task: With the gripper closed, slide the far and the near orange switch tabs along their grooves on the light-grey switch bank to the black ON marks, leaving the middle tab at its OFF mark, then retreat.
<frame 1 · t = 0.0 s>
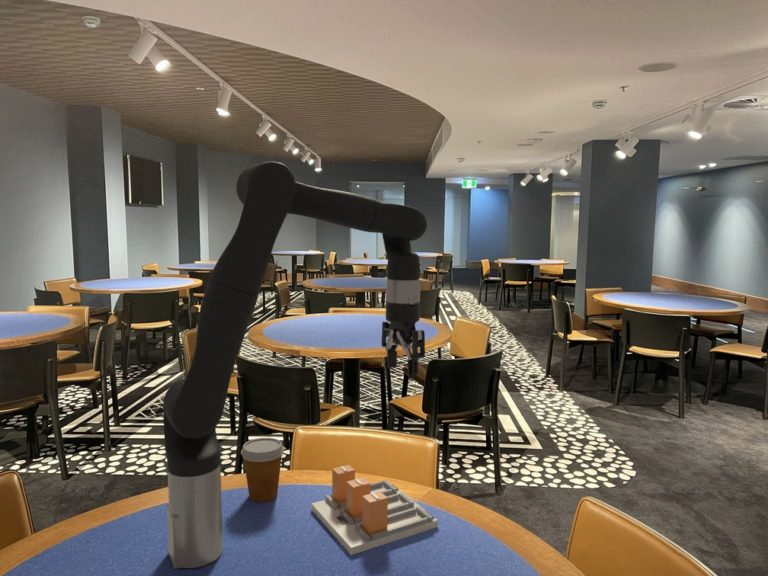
hand: (401, 371, 123), 29 cm above the table, tool pointing down, fingers open, 8 cm apart
switch bank: (372, 518, 117), on the table
disposable coffee cup: (263, 496, 127), on the table
tab near: (374, 513, 109), point 5 cm above the table, slide at 0.0 cm
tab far: (343, 484, 121), point 5 cm above the table, slide at 0.0 cm
tab mid: (358, 497, 115), point 5 cm above the table, slide at 0.0 cm
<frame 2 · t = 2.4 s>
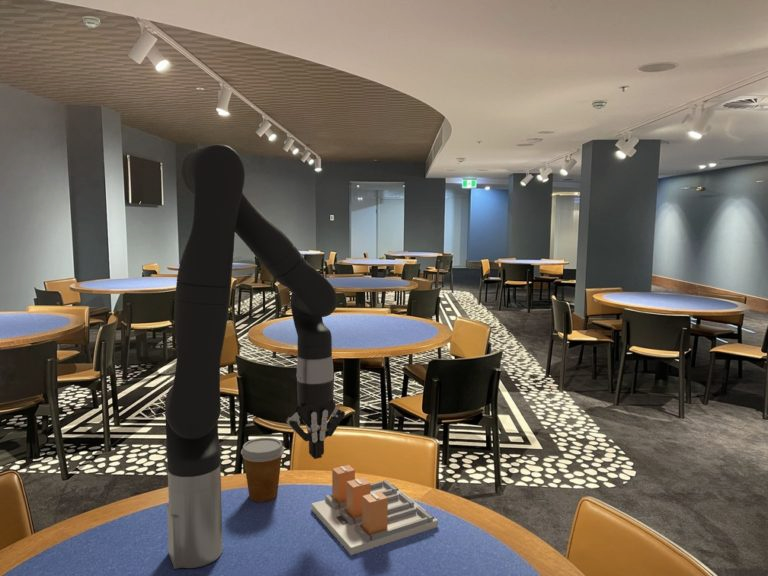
hand: (316, 457, 117), 13 cm above the table, tool pointing down, fingers closed
nothing on the table moved.
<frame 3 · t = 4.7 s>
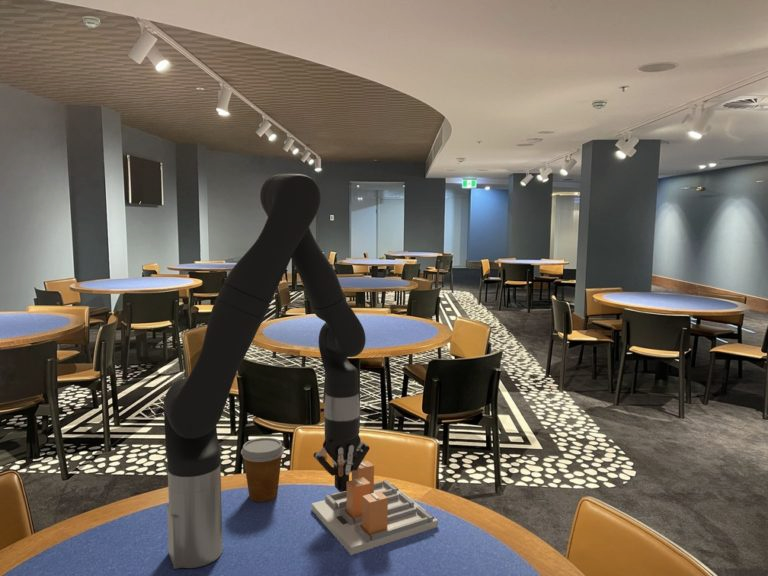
hand: (342, 490, 121), 4 cm above the table, tool pointing down, fingers closed
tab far: (362, 479, 123), point 5 cm above the table, slide at 4.8 cm, touching hand
everything else where it was.
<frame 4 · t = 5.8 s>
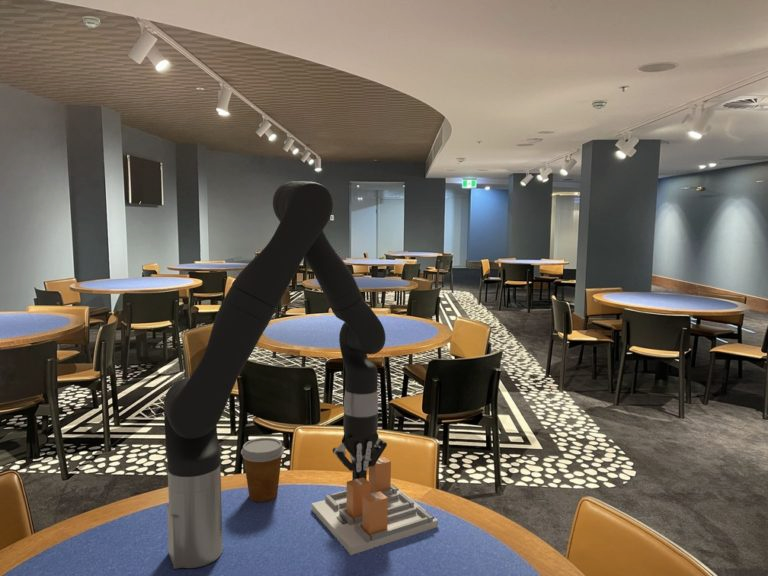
hand: (359, 485, 123), 4 cm above the table, tool pointing down, fingers closed
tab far: (379, 475, 125), point 5 cm above the table, slide at 9.1 cm, touching hand
everything else where it was.
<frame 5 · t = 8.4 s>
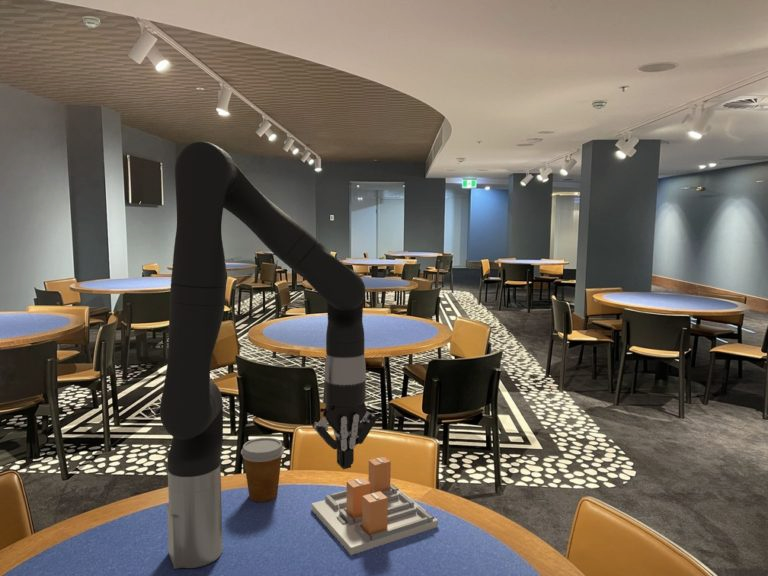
hand: (345, 466, 104), 16 cm above the table, tool pointing down, fingers closed
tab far: (379, 475, 125), point 5 cm above the table, slide at 9.0 cm
everything else where it was.
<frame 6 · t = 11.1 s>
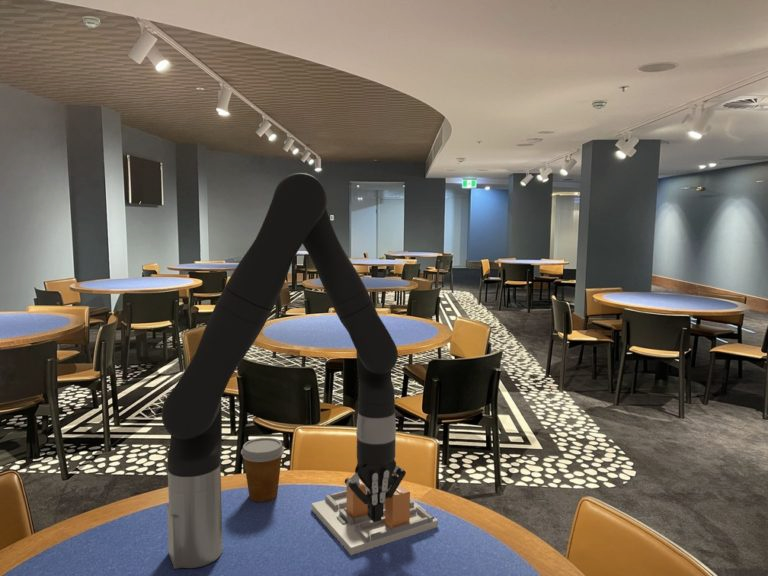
hand: (375, 519, 109), 4 cm above the table, tool pointing down, fingers closed
tab near: (397, 506, 111), point 5 cm above the table, slide at 5.2 cm, touching hand
everything else where it was.
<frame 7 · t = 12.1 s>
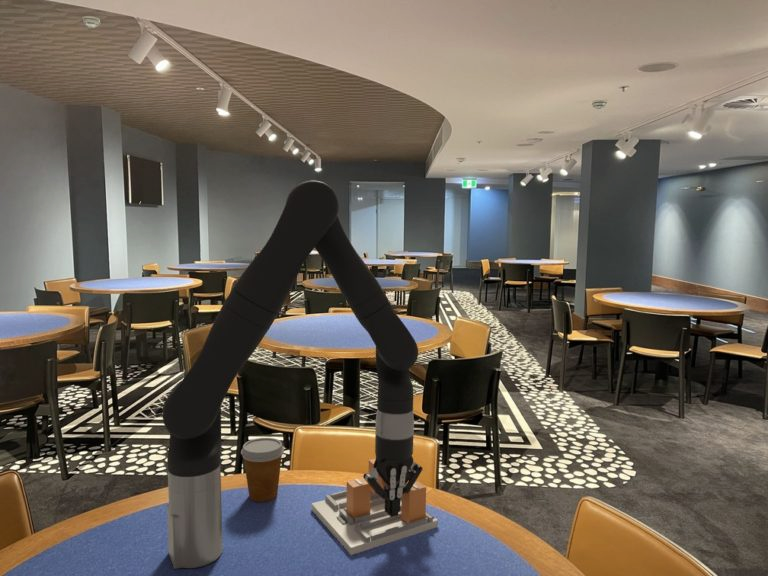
hand: (392, 514, 111), 4 cm above the table, tool pointing down, fingers closed
tab near: (413, 501, 113), point 5 cm above the table, slide at 9.1 cm, touching hand
everything else where it was.
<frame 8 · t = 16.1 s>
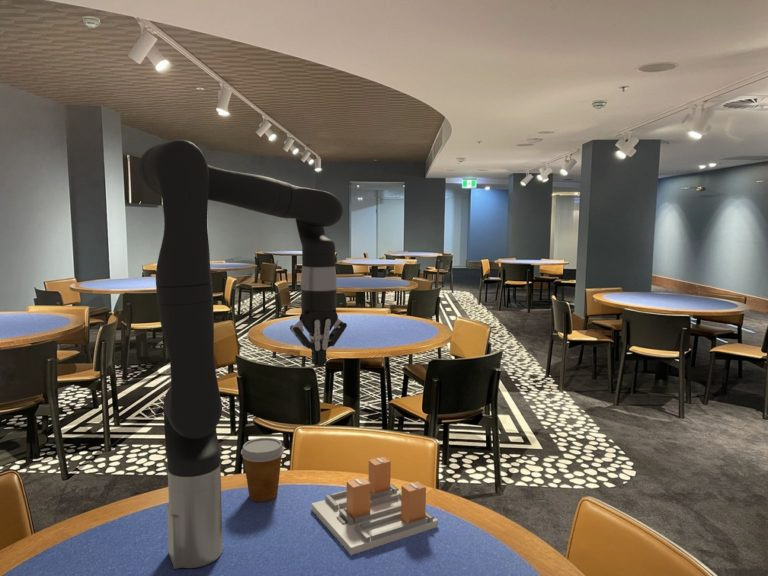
hand: (319, 366, 120), 31 cm above the table, tool pointing down, fingers closed
tab near: (413, 502, 113), point 5 cm above the table, slide at 9.0 cm
everything else where it was.
at the end: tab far slide at 9.0 cm; tab near slide at 9.0 cm; tab mid slide at 0.0 cm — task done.
